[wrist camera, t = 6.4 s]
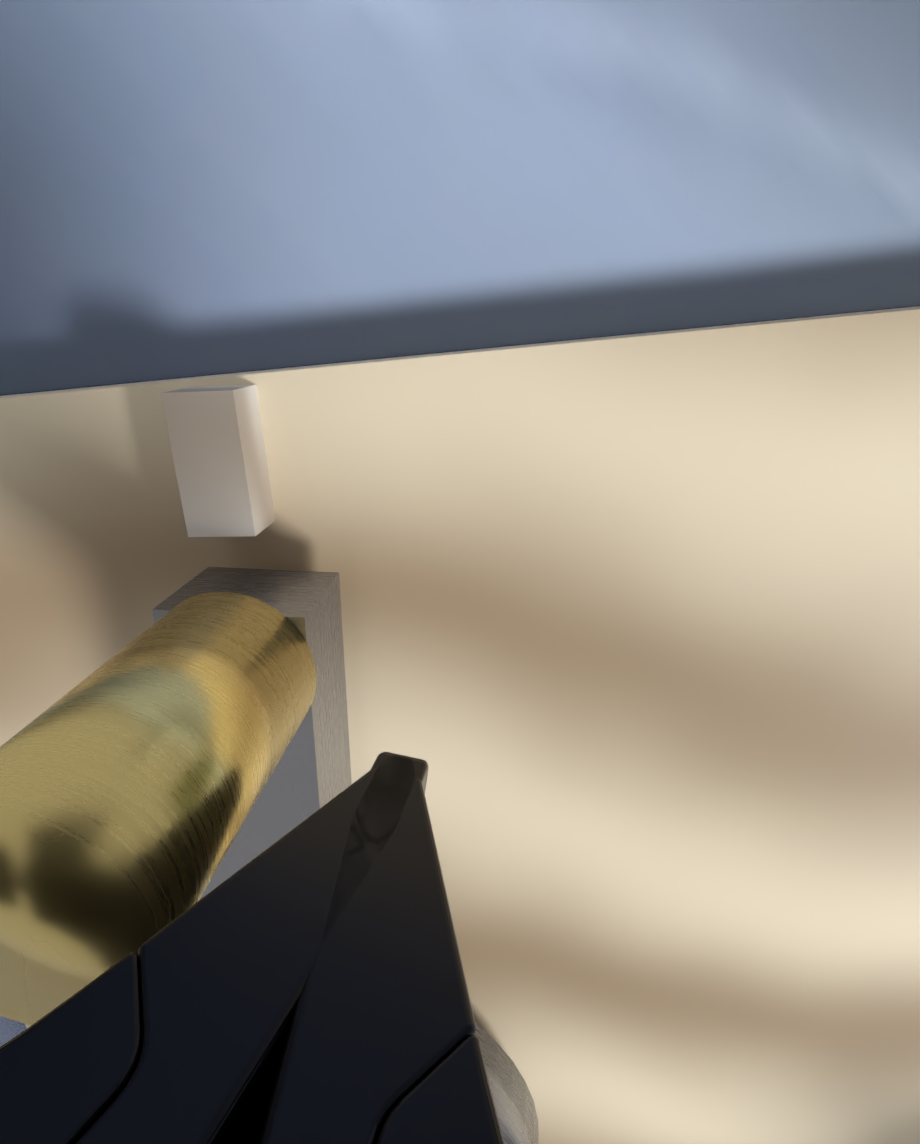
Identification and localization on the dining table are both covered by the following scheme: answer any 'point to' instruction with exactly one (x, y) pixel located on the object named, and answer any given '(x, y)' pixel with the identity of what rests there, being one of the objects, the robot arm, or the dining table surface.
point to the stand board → (575, 676)
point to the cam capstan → (179, 785)
